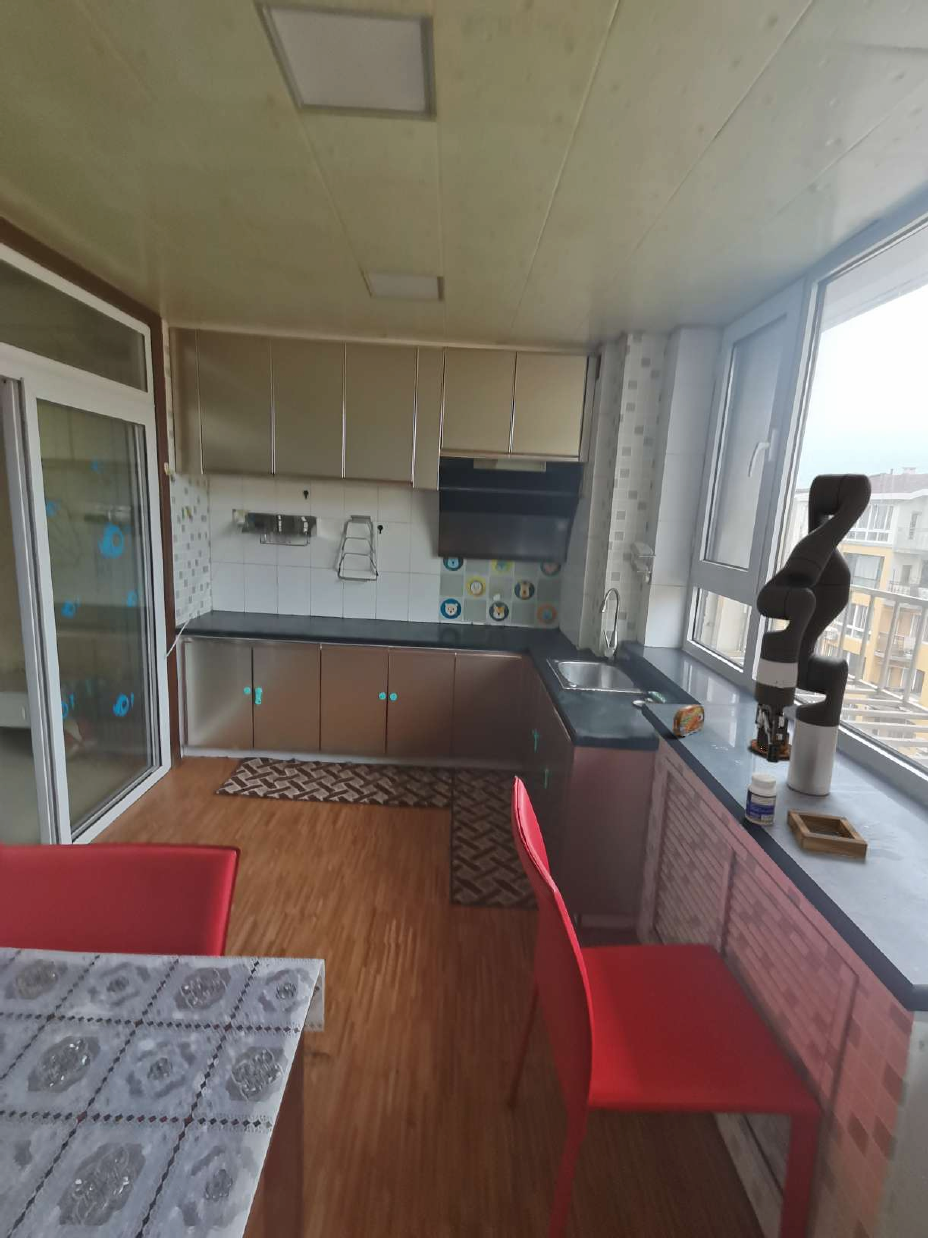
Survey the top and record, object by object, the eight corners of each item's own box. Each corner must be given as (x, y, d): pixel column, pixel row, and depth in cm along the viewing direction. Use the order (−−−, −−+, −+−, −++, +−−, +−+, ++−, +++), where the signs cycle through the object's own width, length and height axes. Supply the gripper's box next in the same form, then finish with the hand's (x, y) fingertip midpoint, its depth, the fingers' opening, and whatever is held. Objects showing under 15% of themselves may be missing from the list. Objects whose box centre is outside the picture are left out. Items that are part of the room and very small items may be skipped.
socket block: (786, 823, 127) (788, 810, 127) (843, 830, 125) (845, 817, 124) (803, 850, 117) (805, 836, 116) (865, 858, 114) (867, 844, 114)
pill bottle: (748, 810, 133) (753, 768, 131) (776, 819, 129) (781, 776, 127) (741, 820, 128) (746, 776, 126) (770, 829, 125) (775, 785, 123)
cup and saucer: (803, 763, 161) (805, 741, 160) (755, 758, 163) (758, 737, 162) (788, 747, 173) (790, 726, 172) (744, 742, 175) (746, 723, 174)
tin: (679, 740, 175) (682, 712, 174) (670, 737, 178) (672, 710, 176) (704, 729, 185) (706, 703, 184) (694, 726, 187) (697, 701, 186)
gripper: (748, 671, 131) (740, 741, 134) (765, 687, 117) (756, 765, 120) (785, 674, 129) (776, 745, 132) (807, 691, 116) (796, 769, 118)
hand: (766, 754), depth 126 cm, fingers open, 8 cm apart
